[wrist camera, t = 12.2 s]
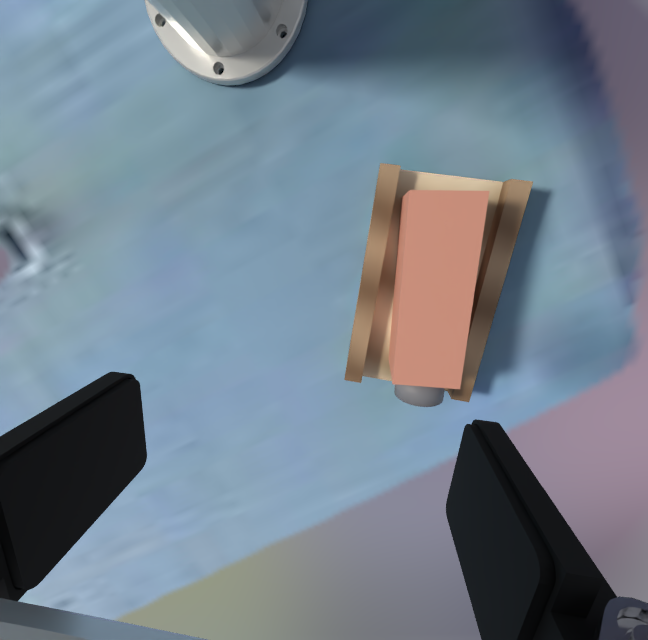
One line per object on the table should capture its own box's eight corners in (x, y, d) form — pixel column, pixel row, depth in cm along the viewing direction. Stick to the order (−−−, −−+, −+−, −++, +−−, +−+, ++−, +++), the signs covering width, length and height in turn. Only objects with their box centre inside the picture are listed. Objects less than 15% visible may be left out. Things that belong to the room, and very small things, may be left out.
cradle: (379, 169, 27) (380, 163, 24) (517, 186, 26) (533, 181, 23) (346, 368, 32) (344, 379, 29) (461, 388, 31) (469, 402, 28)
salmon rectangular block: (401, 197, 26) (409, 190, 21) (466, 198, 26) (489, 190, 21) (386, 379, 30) (390, 407, 26) (442, 383, 30) (456, 412, 25)
